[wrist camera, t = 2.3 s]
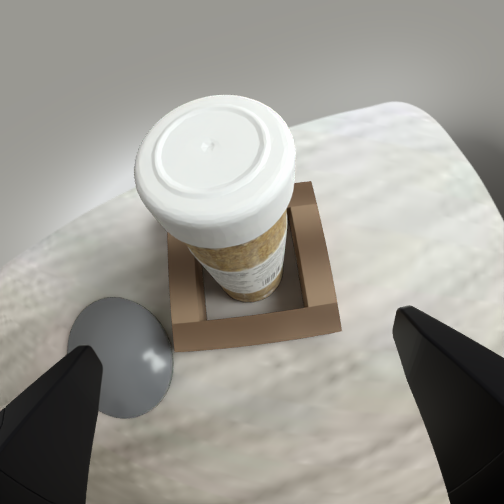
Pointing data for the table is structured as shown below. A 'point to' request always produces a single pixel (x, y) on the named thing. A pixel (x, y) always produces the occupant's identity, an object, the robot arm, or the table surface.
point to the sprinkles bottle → (223, 188)
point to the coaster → (126, 355)
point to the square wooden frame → (262, 325)
